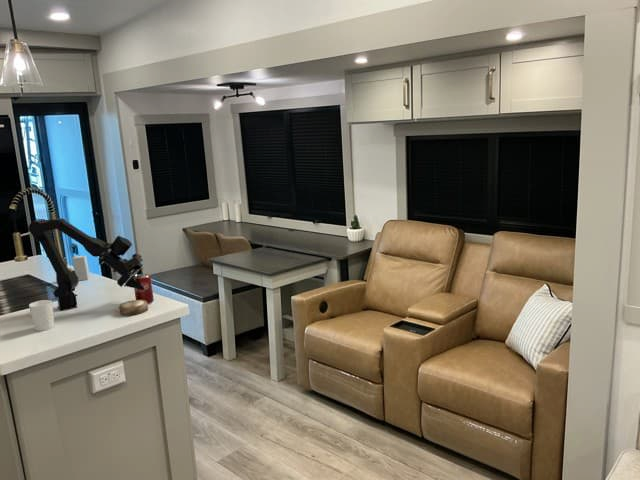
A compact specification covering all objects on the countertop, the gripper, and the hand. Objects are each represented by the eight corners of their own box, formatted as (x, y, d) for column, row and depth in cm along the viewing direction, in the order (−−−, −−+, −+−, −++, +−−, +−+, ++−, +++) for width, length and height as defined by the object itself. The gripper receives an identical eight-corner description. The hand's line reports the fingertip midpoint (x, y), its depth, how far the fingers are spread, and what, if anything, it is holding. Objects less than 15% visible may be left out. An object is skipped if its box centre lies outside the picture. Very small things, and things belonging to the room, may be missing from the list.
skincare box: (90, 277, 274) (86, 255, 272) (88, 280, 270) (84, 257, 267) (77, 278, 273) (74, 256, 271) (75, 281, 269) (71, 258, 266)
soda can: (148, 305, 223) (144, 278, 221) (132, 305, 225) (129, 278, 222) (157, 300, 230) (153, 273, 228) (141, 299, 232) (138, 273, 229)
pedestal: (125, 317, 209) (124, 310, 209) (116, 311, 218) (115, 304, 217) (152, 310, 216) (151, 303, 215) (142, 304, 225) (141, 297, 224)
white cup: (38, 325, 207) (34, 300, 205) (59, 323, 208) (55, 299, 206) (29, 332, 199) (25, 307, 197) (51, 330, 200) (46, 305, 198)
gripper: (121, 254, 213) (151, 279, 216) (135, 244, 231) (163, 267, 234) (104, 274, 215) (135, 298, 217) (119, 263, 233) (148, 285, 235)
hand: (146, 286), depth 226 cm, fingers closed on soda can, 7 cm apart
